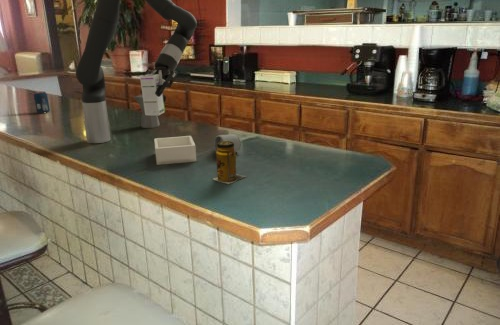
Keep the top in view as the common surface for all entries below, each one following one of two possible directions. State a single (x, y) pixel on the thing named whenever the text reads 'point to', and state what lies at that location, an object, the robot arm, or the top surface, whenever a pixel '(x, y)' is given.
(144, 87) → the syrup box
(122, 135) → the top surface
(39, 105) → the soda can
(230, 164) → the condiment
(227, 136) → the ceramic mug
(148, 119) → the coffeepot
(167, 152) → the bin
